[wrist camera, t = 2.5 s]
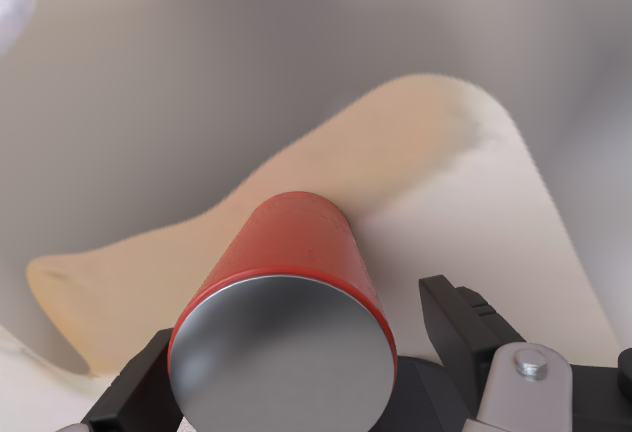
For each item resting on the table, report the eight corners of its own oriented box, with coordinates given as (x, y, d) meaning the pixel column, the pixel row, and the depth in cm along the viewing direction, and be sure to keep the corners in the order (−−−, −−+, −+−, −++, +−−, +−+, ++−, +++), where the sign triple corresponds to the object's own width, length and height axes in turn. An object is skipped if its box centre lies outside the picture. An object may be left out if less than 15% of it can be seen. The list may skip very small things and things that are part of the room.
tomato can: (244, 293, 18) (172, 468, 9) (241, 189, 17) (150, 266, 7) (349, 295, 18) (389, 469, 9) (355, 192, 17) (412, 272, 7)
